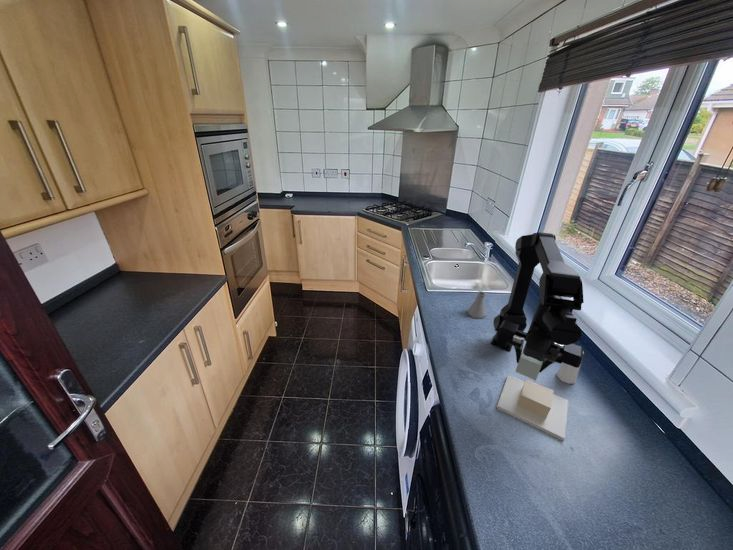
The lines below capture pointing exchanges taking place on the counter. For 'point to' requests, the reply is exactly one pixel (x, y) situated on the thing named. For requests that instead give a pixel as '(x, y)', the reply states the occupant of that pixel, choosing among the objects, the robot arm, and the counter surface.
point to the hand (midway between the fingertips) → (528, 366)
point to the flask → (478, 306)
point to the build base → (529, 417)
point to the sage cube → (528, 366)
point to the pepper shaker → (568, 373)
